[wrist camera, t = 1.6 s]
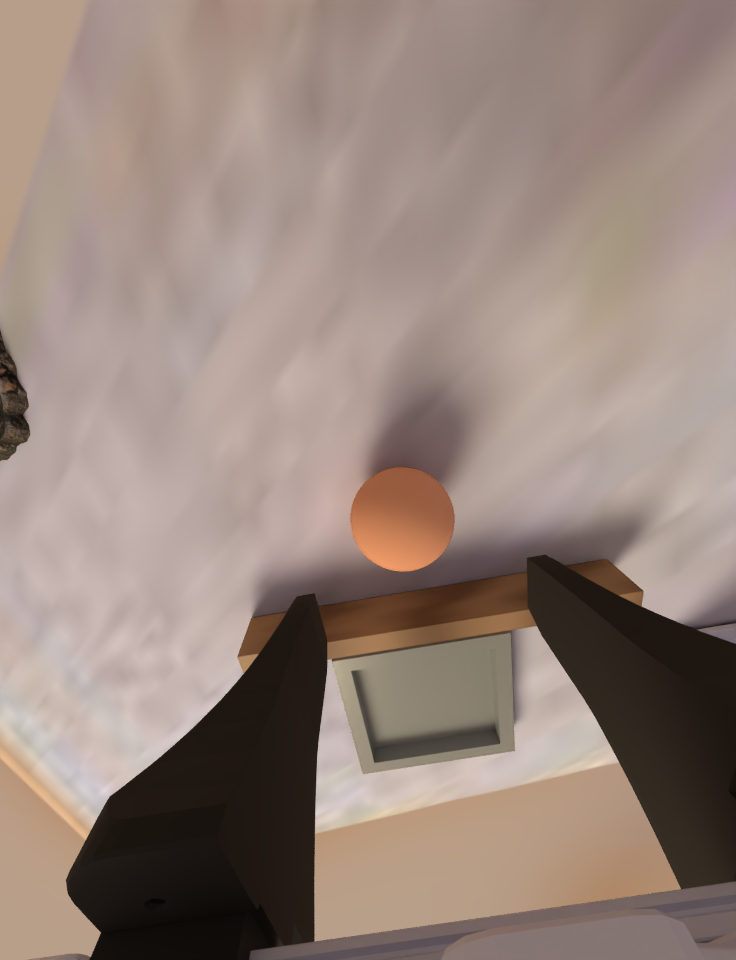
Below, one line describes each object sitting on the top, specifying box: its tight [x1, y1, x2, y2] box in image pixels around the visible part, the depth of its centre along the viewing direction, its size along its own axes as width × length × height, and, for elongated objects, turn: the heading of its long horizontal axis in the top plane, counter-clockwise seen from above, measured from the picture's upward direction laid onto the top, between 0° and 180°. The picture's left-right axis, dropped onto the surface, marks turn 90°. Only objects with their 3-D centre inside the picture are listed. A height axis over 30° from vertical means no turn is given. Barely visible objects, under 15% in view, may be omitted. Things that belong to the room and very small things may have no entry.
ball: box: [350, 467, 454, 571], centre depth 18 cm, size 5×5×5 cm
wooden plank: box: [237, 559, 643, 673], centre depth 21 cm, size 22×1×3 cm, turn 100°
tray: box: [332, 630, 515, 774], centre depth 25 cm, size 11×11×1 cm
